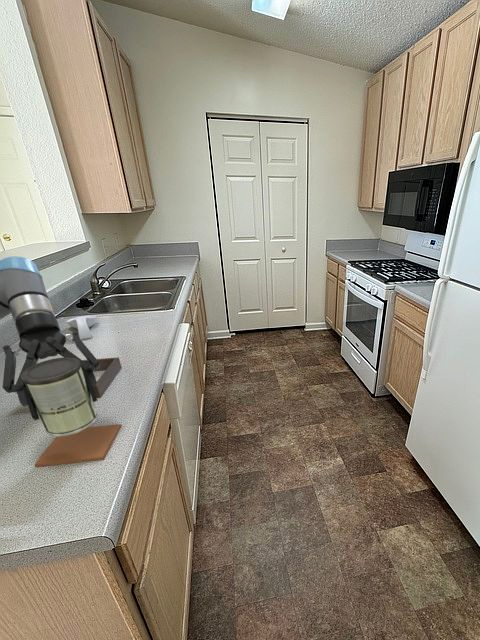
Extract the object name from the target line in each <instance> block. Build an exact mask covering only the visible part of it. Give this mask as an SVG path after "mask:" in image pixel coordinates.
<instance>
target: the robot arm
mask: <svg viewBox="0 0 480 640" xmlns="http://www.w3.org/2000/svg"><path fill="white" fill-rule="evenodd" d="M43 279H44V278H43V276H42V275H41V273H40V271H39V268H38V266H37V264H36V263H35V262H34V261H33V260H31V259H29V258H26V257H23V256H17V255H16V256H7V257H3V258H1V259H0V320H2V319H3V318H5V317H7V316H8V315H10V314H11V316H12V319H13V322H15V324H14V325H15V329H16V331H17V335H18V337H19V343H18V344H15V345H11V346H10V345H8V344H6V345H3V347H2V350H3V352H4V355H5V357H4V358H5V359H4V368H3V370H4V371H3V378H2V389H3V390H4V391H5V392H6V393H7V394H12V393H16V394H17V398H18V401H19V403H20V404H21V406H23V407H28V410H29V413H30V416H31V418H32V419H33V420H34V421H37V420H40V416H39V414H38V411H37V409H36V407H35V405H34V403H33V401H32V398H31V396H30V394H29V392H28V390H27V388H26V385H25V383H24V381H23V380H22V379H21V374H22V372H23V371H25V370H26V369H27V368H29V367H31V366H33V365H35V364H37V363H39V360H44V359H47V358H49V357H51V358H52V357H57V356H58V355H59V356H61V358H64V357H71V358H76V359H78V360H79V361H80V364H81V365H80V366H81V369H82V370H83V371H84V372H83V374H84V377H85V380H86V383H87V386H88V389H89V391H90V394H91V397H92V400H93V402H94V403H95V402H98V398H96V396H95V393H94V390H93V388H92V387H93V386H96V385H97V381H98V380H97V378H96V376H95V373H94V372H96V371H95V370H98V369H100V363H99V361H98V360H97V359H98V358H97V357H95V355H94V354H93V353H92V352H91V350H90V349H89V348H88V347H87V346H86V344H85V343H84V342H83V341H82V339H80V337H79V333H78V330H77V331H76V330H74V331H72V332H71V333H68V334H65V333H63V332H62V330H61V327H60V325H59V322H58V319H57V317H56V314H55V311H54V308H53V306H52V305H53V304H52V302H51V300H50V297H49V295H48V293H47V289H46V286H45V283H44V280H43ZM67 341H69V342H70V344H75V347H76V348H77V350H78V351H80V353H81V354H82V355H83V357H84V358H85V360H88V361H89V362H90V363H91V365H88V364H87V363H85V362H84V361H83V360H84V359H81V358H80V357H79V356H77V355H76V354H74V353H73V352H71V351H70V350H69V349H68V348H67V347H65V344H66V343H67ZM20 351H23V352H24V353H26V355H25V360H24V363H23V366H22V367H21V369H20V372H19V375H18V377H17V380H16V383H15V379H16V370H17V369H16V368H17V357H18V356H19V355H20Z"/></svg>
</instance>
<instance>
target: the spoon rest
mask: <svg viewBox="0 0 480 640" xmlns="http://www.w3.org/2000/svg"><path fill="white" fill-rule="evenodd" d="M97 319H98V317H97V315H94V314H92V315H90V314H89V315H81V316H77V317H73V318H69V319H68V320H66V324H67V325H69V326H70V327H72V328H74V329H77V332H78V334H79V337H80V340H85V339H91V338H93V337H94V336H93V333H92V331H91V330H90V328H91V327H93V326H94V324H95V323H96V322H97Z"/></svg>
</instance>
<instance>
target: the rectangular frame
mask: <svg viewBox="0 0 480 640" xmlns="http://www.w3.org/2000/svg"><path fill="white" fill-rule="evenodd" d="M96 359H97V360H98V361H99V363H100V369H98V370H95V371H94V372H101V371H104V372H103V373H102V374H101V375H100V377H99V378H98V380H96V381H97V385H96V386H93V387H92V388H93V390H94V393H95V396H96V399H100V398H102V396H103V395H104V394H105V393H106V391H107V389H108V388H109V386H110V385H111V383H113V381H114V379H115V378H116V377H117V376H118V374H119V373H120V371H121V370H122V367H123V366H122V364H121V360H120V357H119V356H118V357H105V358H96ZM82 360H83V361H84V362H85V363H87V364H88V365H91V363H90V362H89V361H88V360H87V359H82ZM82 372H84V371H83V370H82Z"/></svg>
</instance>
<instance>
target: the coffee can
mask: <svg viewBox="0 0 480 640" xmlns="http://www.w3.org/2000/svg"><path fill="white" fill-rule="evenodd" d="M80 365H81V364H80V361H79V360H78V359H76V358H71V357H56V358H51V359H47V360H44V361H40V362H37V364H35V365H33V366H31V367H29V368H27V369H26V370H25V371H23V372H22V374H21V379H22V380H23V381H24V383H25V385H26V388H27V390H28V392H29V394H30V396H31V398H32V401H33V403H34V405H35V407H36V410H37V413H38V416H39V419H40V421H41V422H42V424H43V427H44V429H45V433H46V434H47V435H49V436H51V437H60V436H68V435H72V434H75V433H78V432H80V431H82V430H84V429H86V428H88V427H92V425H93V424H94V423H96V421H97V420H98V418H99V413H98V411H97V409H96V405H95V402H93V400H92V397H91V394H90V391H89V389H88V386H87V383H86V380H85V377H84V374H83V372H82V369H81V366H80Z"/></svg>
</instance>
